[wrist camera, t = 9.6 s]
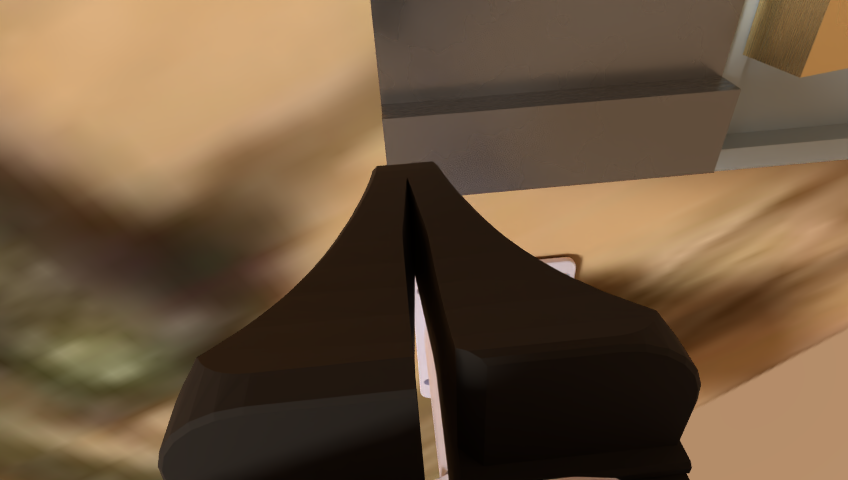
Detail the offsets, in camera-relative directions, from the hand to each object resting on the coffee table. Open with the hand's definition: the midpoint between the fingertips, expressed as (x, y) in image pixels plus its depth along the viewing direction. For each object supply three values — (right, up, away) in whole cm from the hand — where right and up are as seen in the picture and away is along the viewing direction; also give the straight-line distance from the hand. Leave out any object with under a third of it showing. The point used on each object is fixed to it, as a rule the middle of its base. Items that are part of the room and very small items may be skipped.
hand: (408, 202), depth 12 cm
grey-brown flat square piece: (+5, +8, +6) cm, 11 cm away
